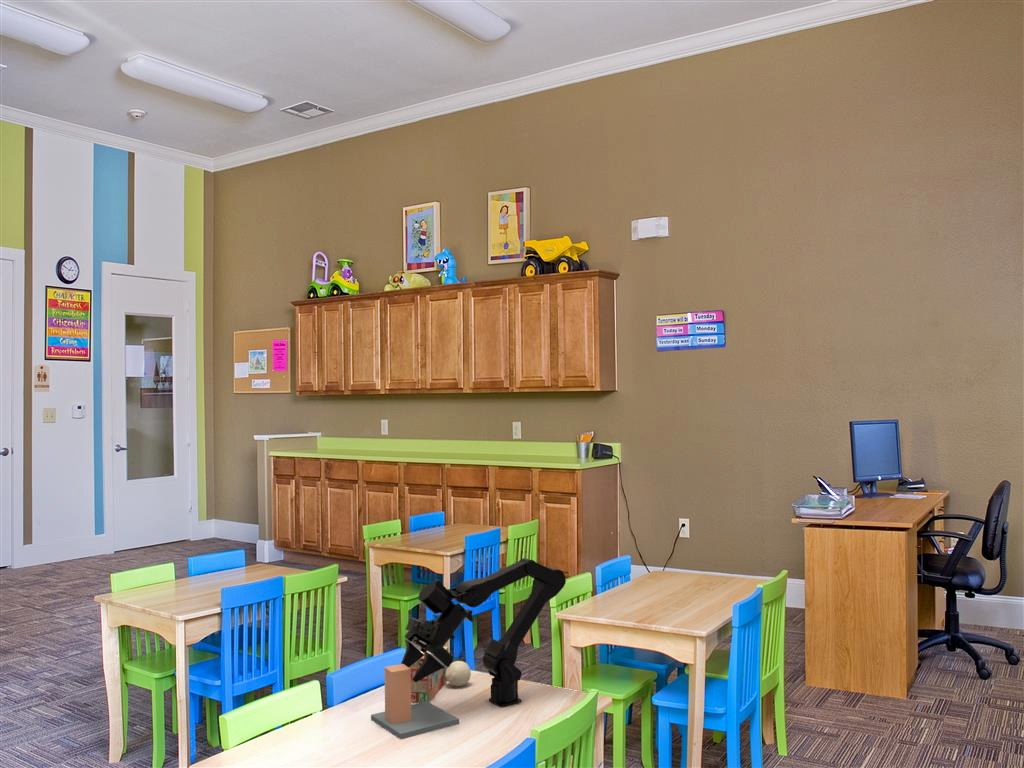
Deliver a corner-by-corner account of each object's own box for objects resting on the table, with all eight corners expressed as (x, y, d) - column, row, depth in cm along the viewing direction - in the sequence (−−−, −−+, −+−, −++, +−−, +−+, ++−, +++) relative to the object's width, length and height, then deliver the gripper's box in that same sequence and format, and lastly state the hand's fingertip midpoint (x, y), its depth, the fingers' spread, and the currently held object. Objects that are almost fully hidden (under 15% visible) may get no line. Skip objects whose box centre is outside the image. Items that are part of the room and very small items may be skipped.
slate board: (426, 705, 217) (426, 701, 217) (458, 723, 204) (458, 718, 204) (371, 719, 208) (371, 714, 208) (400, 739, 195) (400, 733, 195)
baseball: (440, 685, 234) (440, 661, 234) (461, 680, 238) (461, 656, 239) (453, 691, 228) (453, 667, 229) (475, 686, 233) (475, 661, 233)
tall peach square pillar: (403, 714, 208) (403, 663, 209) (411, 720, 204) (410, 668, 204) (385, 718, 206) (384, 667, 206) (392, 724, 201) (391, 672, 202)
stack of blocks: (428, 678, 241) (428, 635, 242) (449, 678, 240) (449, 635, 241) (406, 703, 220) (405, 656, 221) (428, 704, 219) (428, 657, 220)
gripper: (410, 598, 218) (371, 648, 212) (440, 612, 201) (398, 666, 196) (439, 624, 221) (401, 673, 216) (470, 640, 205) (430, 693, 199)
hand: (406, 676), depth 206 cm, fingers open, 9 cm apart
